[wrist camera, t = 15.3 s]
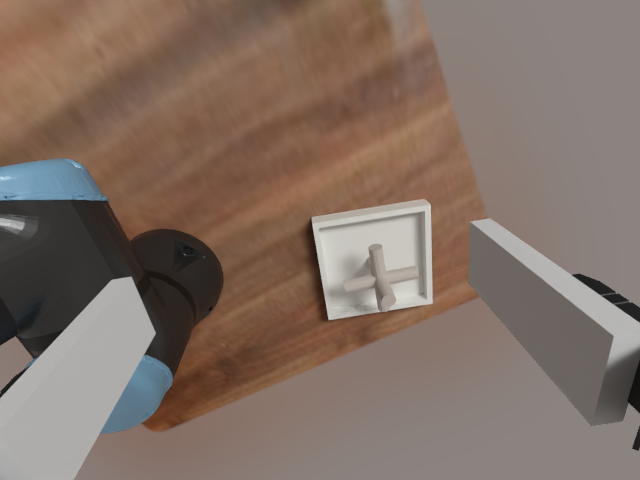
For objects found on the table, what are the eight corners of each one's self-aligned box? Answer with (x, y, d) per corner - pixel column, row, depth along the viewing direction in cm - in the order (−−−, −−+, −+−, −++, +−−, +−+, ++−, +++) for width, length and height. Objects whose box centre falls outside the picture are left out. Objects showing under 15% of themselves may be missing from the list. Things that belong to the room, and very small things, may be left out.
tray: (327, 310, 56) (328, 320, 54) (311, 217, 50) (312, 223, 47) (427, 294, 56) (432, 303, 54) (424, 198, 50) (430, 204, 47)
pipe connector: (408, 281, 54) (431, 323, 45) (345, 294, 54) (355, 339, 46) (402, 223, 50) (426, 257, 41) (333, 238, 50) (342, 275, 41)
